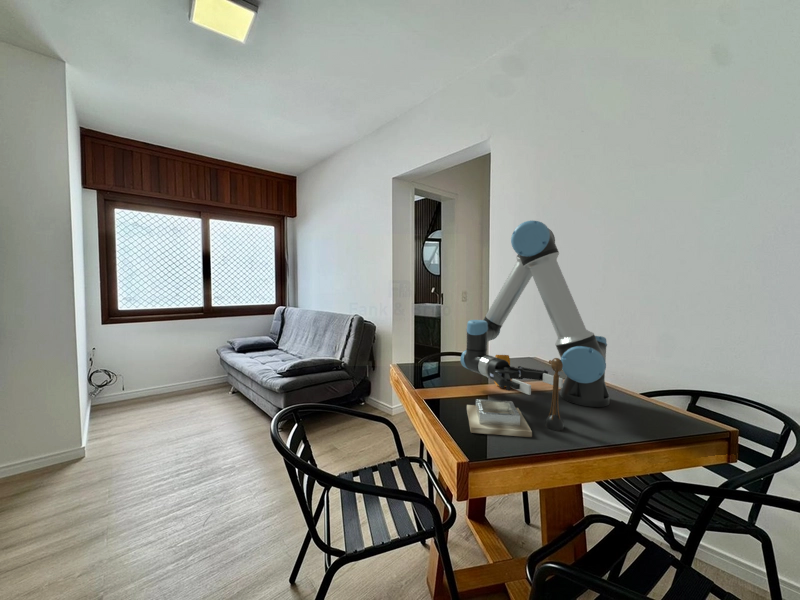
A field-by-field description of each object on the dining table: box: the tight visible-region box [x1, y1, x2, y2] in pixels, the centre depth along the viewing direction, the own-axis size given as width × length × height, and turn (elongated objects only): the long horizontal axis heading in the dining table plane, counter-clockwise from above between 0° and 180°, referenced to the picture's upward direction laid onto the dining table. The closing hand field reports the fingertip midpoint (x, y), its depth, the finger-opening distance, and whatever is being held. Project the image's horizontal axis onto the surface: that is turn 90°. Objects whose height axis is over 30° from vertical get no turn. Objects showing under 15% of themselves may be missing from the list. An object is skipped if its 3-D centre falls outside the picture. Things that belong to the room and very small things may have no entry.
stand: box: [466, 404, 533, 438], centre depth 95 cm, size 16×16×2 cm
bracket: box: [493, 354, 512, 388], centre depth 129 cm, size 11×7×12 cm, turn 176°
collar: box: [475, 398, 520, 427], centre depth 95 cm, size 11×11×3 cm
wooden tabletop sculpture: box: [544, 357, 564, 432], centre depth 93 cm, size 6×5×20 cm
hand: (546, 386), depth 94 cm, fingers open, 13 cm apart
